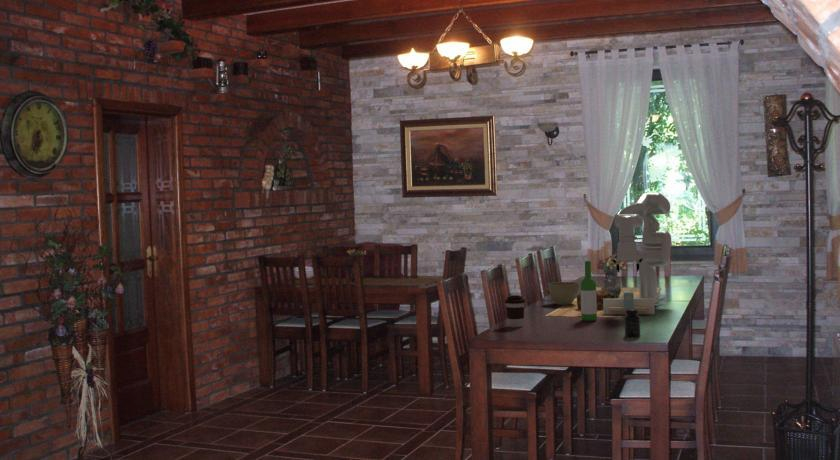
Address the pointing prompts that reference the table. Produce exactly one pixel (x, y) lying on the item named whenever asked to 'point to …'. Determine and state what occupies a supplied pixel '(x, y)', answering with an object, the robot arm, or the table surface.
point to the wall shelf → (618, 308)
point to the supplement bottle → (632, 323)
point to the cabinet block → (628, 299)
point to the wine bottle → (588, 295)
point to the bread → (598, 298)
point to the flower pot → (563, 292)
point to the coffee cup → (515, 310)
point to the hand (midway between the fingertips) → (628, 271)
